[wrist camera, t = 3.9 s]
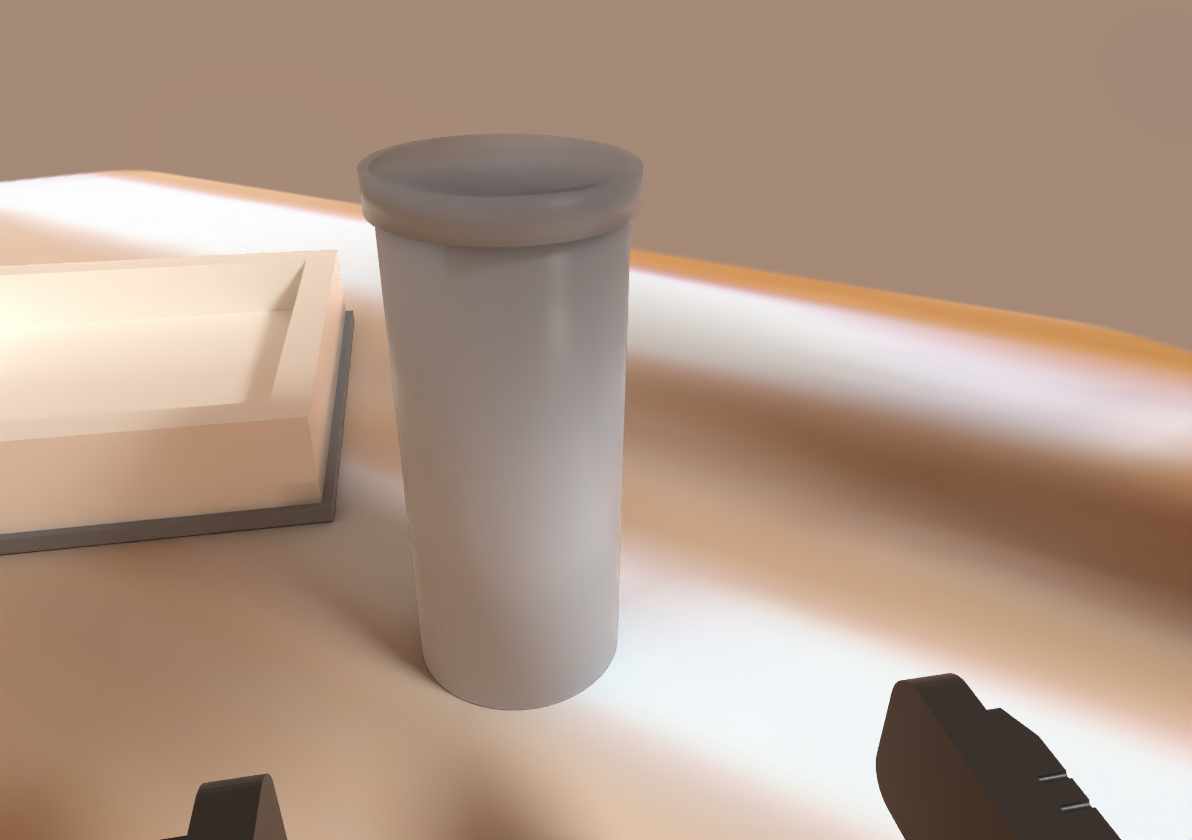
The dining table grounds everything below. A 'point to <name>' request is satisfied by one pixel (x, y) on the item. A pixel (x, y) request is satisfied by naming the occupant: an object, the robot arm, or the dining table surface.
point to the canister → (509, 399)
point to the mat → (215, 520)
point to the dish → (166, 386)
